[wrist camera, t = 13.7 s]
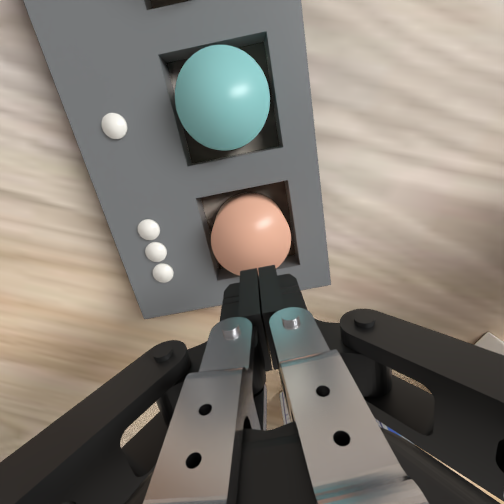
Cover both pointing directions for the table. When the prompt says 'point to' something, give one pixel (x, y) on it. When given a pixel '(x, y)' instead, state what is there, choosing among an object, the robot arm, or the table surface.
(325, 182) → the table surface
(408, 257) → the table surface
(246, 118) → the teal button
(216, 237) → the terracotta button
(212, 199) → the table surface
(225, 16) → the button panel
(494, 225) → the table surface
